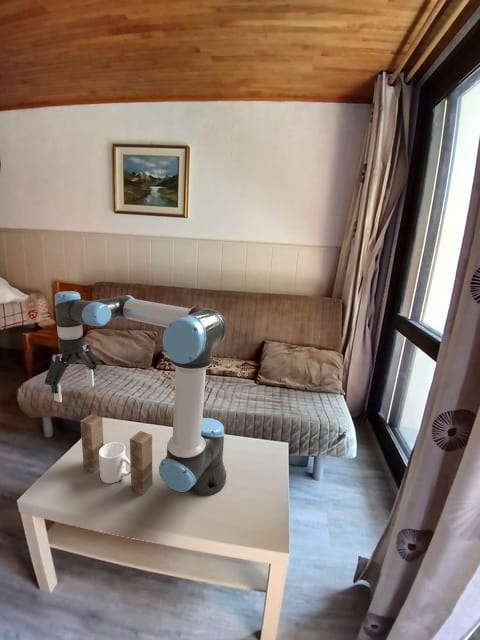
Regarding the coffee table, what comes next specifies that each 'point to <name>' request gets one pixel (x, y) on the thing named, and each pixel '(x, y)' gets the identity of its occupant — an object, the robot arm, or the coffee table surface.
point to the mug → (113, 462)
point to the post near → (141, 462)
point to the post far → (91, 441)
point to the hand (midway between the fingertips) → (75, 392)
